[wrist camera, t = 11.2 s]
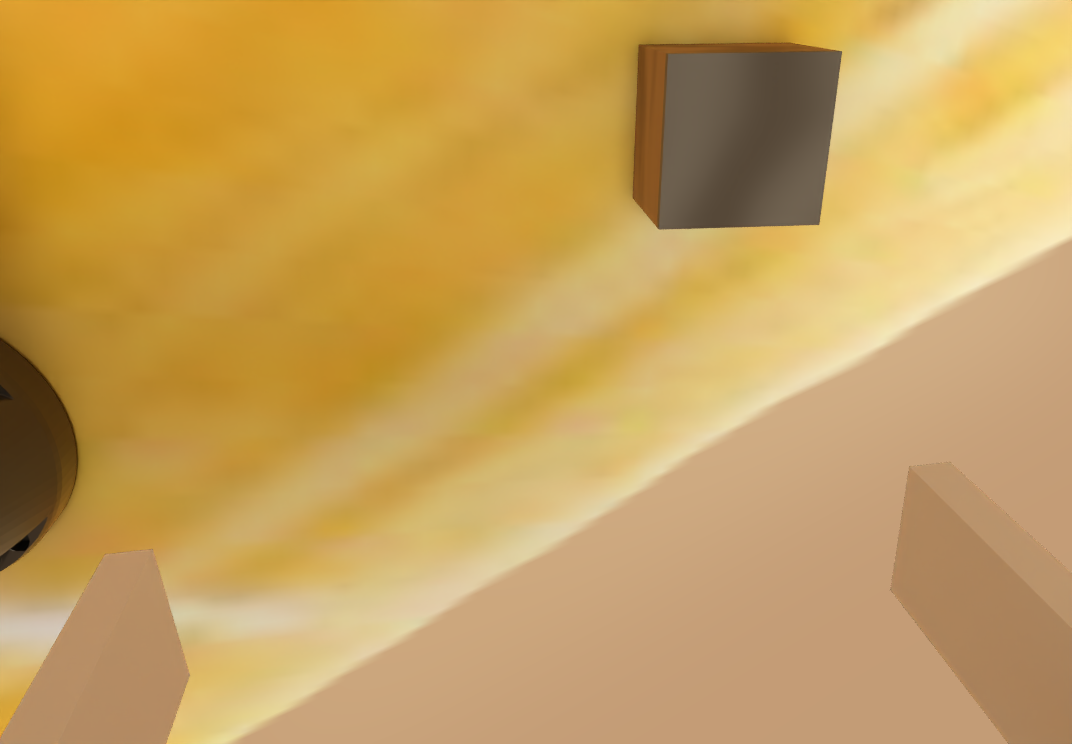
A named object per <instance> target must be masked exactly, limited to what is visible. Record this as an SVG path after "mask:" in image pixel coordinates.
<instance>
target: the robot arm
mask: <svg viewBox="0 0 1072 744" xmlns="http://www.w3.org/2000/svg"><path fill="white" fill-rule="evenodd" d="M76 469H77V453H76V445H75V440H74V436H73V432H72V429H71V425H70V423H69V420H68V418H67V415H66V413H65V411H64V409H63V407H62V405H61V403H60V401H59V400H58V398H57V396H56V395H55V393H54V392H53V390H52V389H51V387H50V386H49V385H48V383H47V382H46V381H45V380H44V378H43V377H42V376H41V375H40V374H39V373H38V372H37V370H36V369H35V368H34V367H33V366H32V365H31V364H30V363H29V362H28V361H27V360H26V359H24V358H23V357H22V356H21V355H20V354H19V353H18V352H16V351H15V350H14V349H12V348H11V347H10V346H9V345H7V344H6V343H4V342H3V341H1V340H0V571H2V570H4V569H6V568H7V567H9V566H10V565H12V564H13V563H15V562H17V561H18V560H19V559H21V558H22V557H23V556H24V555H26V554H27V553H28V552H29V551H30V550H31V549H32V548H33V547H34V546H36V545H37V543H38V542H39V541H40V540H41V539H42V538H43V536H44V535H45V534H46V532H47V531H48V530H49V529H50V527H51V526H52V525H53V523H54V522H55V521H56V519H57V518H58V517H59V515H60V514H61V513H62V511H63V509H64V508H65V506H66V504H67V502H68V500H69V498H70V495H71V493H72V490H73V486H74V482H75V477H76ZM891 591H892V593H893V594H894V595H895V597H896V598H897V599H898V600H899V602H900V603H901V604H902V606H903V607H904V608H905V610H906V611H907V612H908V613H909V615H910V616H911V617H912V619H913V620H914V621H915V623H917V625H918V626H919V628H920V629H921V630H922V632H923V633H924V634H925V636H926V637H927V638H928V639H929V641H930V642H931V643H932V645H933V646H934V647H935V649H936V650H937V651H938V653H939V654H940V655H941V656H942V658H943V659H944V660H945V662H946V663H947V664H948V666H949V667H950V668H951V670H952V671H953V672H954V673H955V675H956V676H957V677H958V679H959V680H960V681H961V682H962V684H963V685H964V686H965V688H966V689H967V690H968V692H969V693H970V694H971V696H972V697H973V698H974V699H975V701H976V702H977V703H978V705H979V706H980V707H981V709H982V710H983V711H984V713H985V714H986V715H987V716H988V718H989V719H990V720H991V722H992V723H993V724H994V726H995V727H996V728H997V729H998V731H999V732H1000V733H1001V735H1002V736H1003V737H1004V739H1005V740H1006V741H1007V743H1008V744H1072V573H1071V571H1069V570H1068V569H1067V568H1066V567H1065V566H1064V565H1063V564H1062V563H1061V562H1060V561H1058V560H1057V559H1056V558H1055V557H1054V556H1053V555H1052V554H1051V553H1050V552H1048V551H1047V550H1046V549H1045V548H1044V547H1043V546H1042V545H1041V544H1040V543H1039V542H1037V541H1036V540H1035V539H1034V538H1033V537H1032V536H1031V535H1030V534H1029V533H1028V532H1026V531H1025V530H1024V529H1023V528H1022V527H1021V526H1020V525H1019V524H1018V523H1017V522H1016V521H1014V520H1013V519H1012V518H1011V517H1010V516H1009V515H1008V514H1007V513H1005V512H1004V511H1003V510H1002V509H1001V508H1000V507H999V506H998V505H997V504H996V503H995V502H994V501H992V500H991V499H990V498H989V497H988V496H987V495H986V494H985V493H984V492H983V491H981V490H980V489H979V488H978V487H977V486H976V485H975V484H974V483H973V482H972V481H970V480H969V479H968V478H967V477H966V476H965V475H964V474H963V473H962V472H960V471H959V470H958V469H957V468H956V467H955V466H954V465H953V464H952V463H951V462H945V463H936V464H926V465H917V466H909V471H908V478H907V484H906V491H905V497H904V504H903V511H902V517H901V524H900V530H899V537H898V544H897V551H896V556H895V563H894V570H893V576H892V583H891ZM189 676H190V674H189V671H188V667H187V664H186V661H185V657H184V654H183V650H182V647H181V644H180V640H179V637H178V633H177V630H176V627H175V623H174V620H173V616H172V613H171V610H170V606H169V603H168V599H167V596H166V593H165V589H164V586H163V582H162V579H161V576H160V572H159V569H158V565H157V562H156V558H155V555H154V552H153V549H149V550H140V551H131V552H122V553H113V554H105V555H104V557H103V559H102V560H101V562H100V564H99V566H98V567H97V569H96V571H95V573H94V574H93V576H92V578H91V580H90V581H89V583H88V585H87V587H86V588H85V590H84V592H83V594H82V596H81V597H80V599H79V601H78V603H77V604H76V606H75V608H74V610H73V611H72V613H71V615H70V617H69V618H68V620H67V622H66V624H65V625H64V627H63V629H62V631H61V632H60V634H59V636H58V638H57V639H56V641H55V643H54V645H53V646H52V648H51V650H50V652H49V653H48V655H47V657H46V659H45V660H44V662H43V664H42V666H41V667H40V669H39V671H38V673H37V674H36V676H35V678H34V680H33V681H32V683H31V685H30V687H29V688H28V690H27V692H26V694H25V695H24V697H23V699H22V701H21V703H20V704H19V706H18V708H17V710H16V711H15V713H14V715H13V717H12V718H11V720H10V722H9V724H8V725H7V727H6V729H5V731H4V732H3V734H2V736H1V738H0V744H166V742H167V739H168V736H169V734H170V731H171V728H172V725H173V722H174V719H175V716H176V713H177V711H178V708H179V705H180V702H181V699H182V696H183V693H184V690H185V687H186V685H187V682H188V679H189Z"/></svg>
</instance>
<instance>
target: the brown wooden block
mask: <svg viewBox="0 0 1072 744" xmlns="http://www.w3.org/2000/svg"><path fill="white" fill-rule="evenodd" d="M841 55H842V51H836V50H830V49H824V48H818V47H812V46H806V45H799V44H793V43H734V44H660V45H639V53H638V78H637V104H636V129H635V155H634V180H633V199H634V200H635V201H636V202H637V204H638V205H639V206H640V207H641V208H642V210H643V211H644V212H645V213H646V214H647V216H648V217H649V218H650V219H651V221H652V222H653V223H654V224H655V225H656V227H657V228H658V229H691V228H725V227H760V226H794V225H819V222H820V215H821V207H822V199H823V192H824V184H825V177H826V169H827V161H828V154H829V146H830V139H831V131H832V123H833V116H834V108H835V101H836V93H837V85H838V78H839V70H840V63H841Z"/></svg>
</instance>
